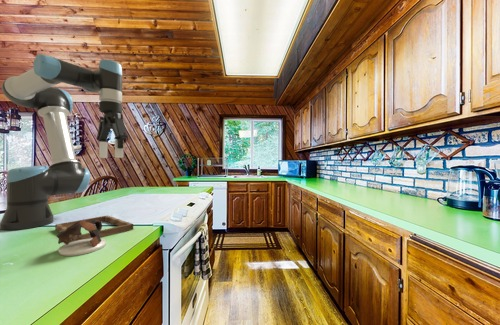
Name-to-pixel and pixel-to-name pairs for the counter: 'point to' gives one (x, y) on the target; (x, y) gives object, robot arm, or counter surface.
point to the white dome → (80, 247)
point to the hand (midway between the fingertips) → (110, 157)
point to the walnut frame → (121, 227)
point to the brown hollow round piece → (76, 230)
